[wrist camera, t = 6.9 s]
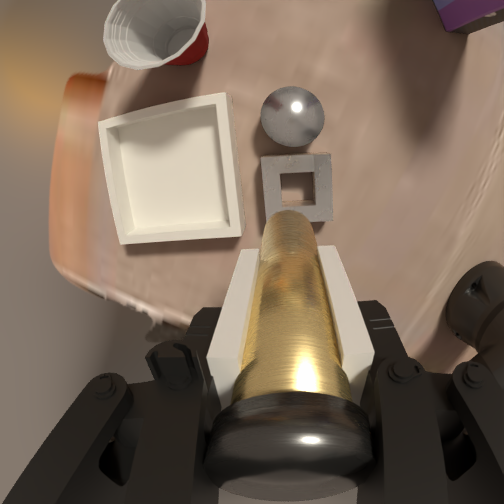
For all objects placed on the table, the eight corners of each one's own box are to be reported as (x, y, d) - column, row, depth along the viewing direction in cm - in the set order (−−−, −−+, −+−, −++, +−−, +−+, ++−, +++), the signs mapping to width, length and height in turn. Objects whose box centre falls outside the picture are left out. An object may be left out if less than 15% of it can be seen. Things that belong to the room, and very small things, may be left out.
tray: (245, 225, 38) (241, 236, 35) (133, 234, 40) (120, 244, 37) (231, 96, 32) (225, 92, 28) (113, 121, 34) (97, 122, 30)
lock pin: (318, 258, 18) (358, 495, 5) (261, 261, 18) (220, 497, 5) (316, 203, 17) (398, 434, 3) (256, 206, 17) (180, 439, 4)
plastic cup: (155, 94, 32) (105, 84, 21) (146, 28, 28) (99, 1, 17) (235, 73, 30) (213, 48, 19) (222, 5, 26) (198, -38, 15)
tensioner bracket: (329, 214, 36) (333, 222, 33) (267, 217, 37) (266, 225, 34) (321, 89, 30) (325, 85, 27) (256, 93, 31) (253, 89, 28)
